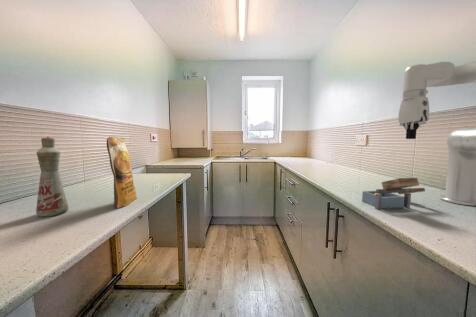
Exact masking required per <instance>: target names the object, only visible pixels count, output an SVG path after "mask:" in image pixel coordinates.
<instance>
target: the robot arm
mask: <svg viewBox="0 0 476 317" xmlns="http://www.w3.org/2000/svg"><path fill="white" fill-rule="evenodd" d="M472 83H474V84H475V83H476V60H474V61H473V60H472V61H470V62H466V63H463V64H459V65H455V64H454V63H453V62H451V61H438V62H434V63H428V64H425V63H419V64H413V65H411V66H408V67H406V69H405V70H404V74H403V89H402V100H401V102H400V107H399V109H398V110H399V111H398V123H399V126H400V127H403V128H404V130H405V131H406V133H405V139H406V140H416V138H417V131H418V130H419V128H420V127H421V126H423V125H425V124H426V123H427V121H429V119H430V102H429V97H427V94H428V93H429V90H427V88H432V87H433V88H438V87H446V86H456V85H465V84H472ZM446 144H447V150H448V161H447V162H448V163H447V171H446V182H445V184H446V185H445V192H444V193H445V194H442V195H440V196H439V199H440V200H442V201H444V202H448V203H452V204H457V205H463V206H472V207H473V206H475V207H476V126H473V127H472V126H471V127H461V128H458V129H455V130H453V131H451V132H450V133H449V135H448V136H447V138H446Z"/></svg>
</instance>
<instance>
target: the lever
mask: <svg viewBox="0 0 476 317" xmlns="http://www.w3.org/2000/svg"><path fill="white" fill-rule="evenodd" d="M417 186H420V183H419V180H418V177H407V178H406V177H404V178H402V177H401V178H396V179H395V178H394V179H391V180H385V181H381V187H382V188H376V190H375V191H376V193H393V194H397V195H404V193H410V194H413V193H422V192H426V189H425V187H417ZM412 187H413V188H412Z"/></svg>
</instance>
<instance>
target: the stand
mask: <svg viewBox="0 0 476 317" xmlns="http://www.w3.org/2000/svg"><path fill="white" fill-rule="evenodd" d="M403 195H404V196H403V197H404V205H403V208H405V209H410V208H411V202H412V201H411V199H412V198H411V197H412V193H404V194H403ZM381 202H382V195H381V194H376V197H375V206H374V209H375V210H378V211H381V210H382V209H381Z"/></svg>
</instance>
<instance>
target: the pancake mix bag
mask: <svg viewBox="0 0 476 317" xmlns="http://www.w3.org/2000/svg"><path fill="white" fill-rule="evenodd" d="M106 150H107V153H108V158H109V166H110V169H111V171H112V172H111V173H112V175H113V207H114V208H115V209H119V208H122V207H123V208H124V207H126V206H128V205H130V204H131V203H133V202H134V201H135V200H136V199H137V198H138V196H137V191H136V187H135V183H134V176H133V170H132V164H131V162H132V161H131V158H130V154H129V150H128V148H127V144H126V141H125V138H123V137H117V136H108V137H107V139H106Z"/></svg>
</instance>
